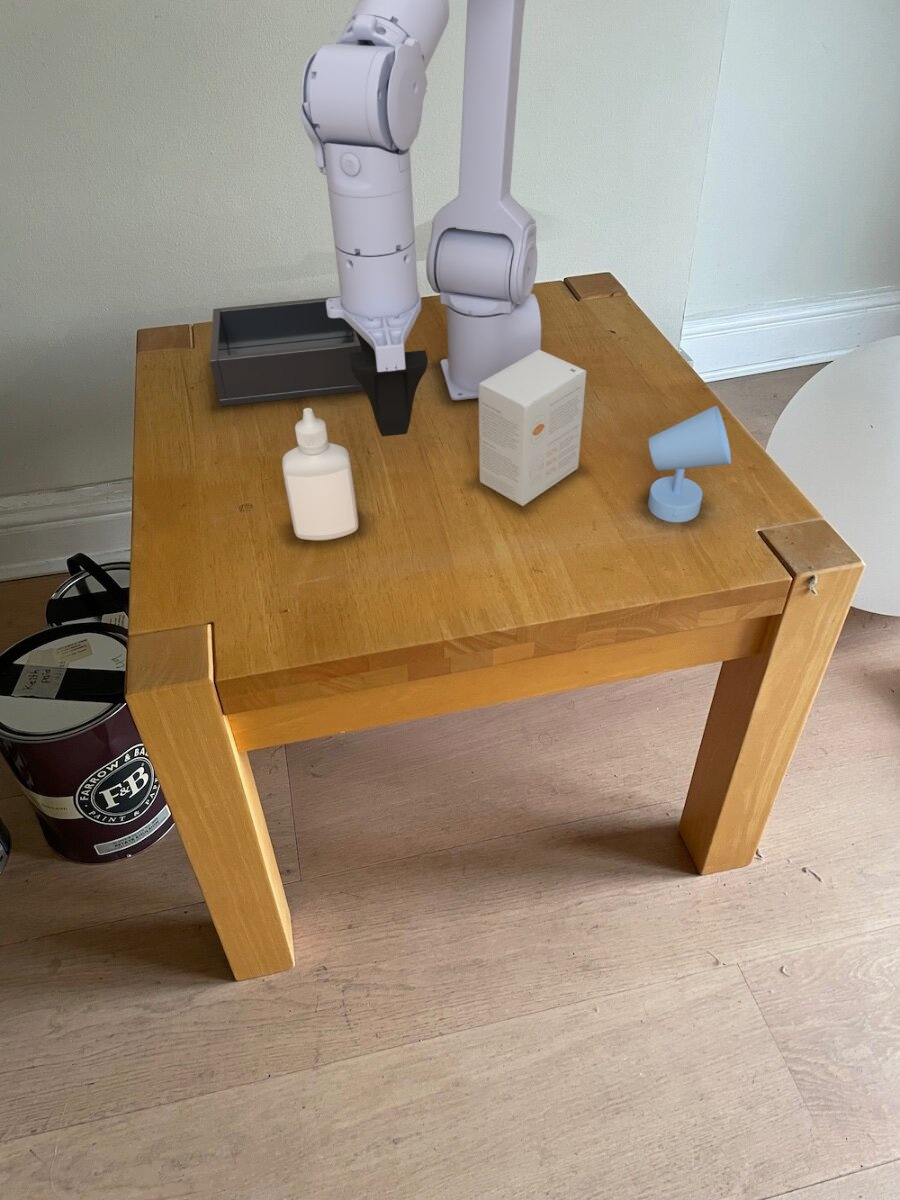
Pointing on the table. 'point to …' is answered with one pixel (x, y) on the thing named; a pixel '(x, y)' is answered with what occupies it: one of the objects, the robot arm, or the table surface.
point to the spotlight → (686, 463)
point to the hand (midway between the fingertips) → (389, 406)
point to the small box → (530, 425)
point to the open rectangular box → (281, 352)
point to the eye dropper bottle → (319, 483)
